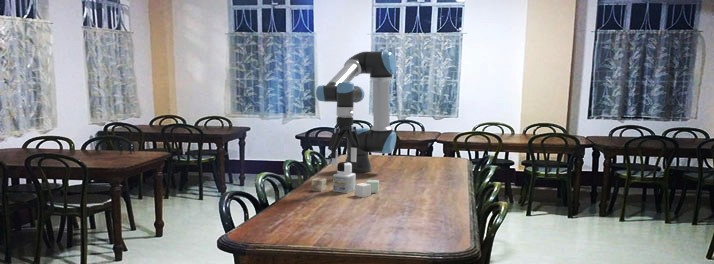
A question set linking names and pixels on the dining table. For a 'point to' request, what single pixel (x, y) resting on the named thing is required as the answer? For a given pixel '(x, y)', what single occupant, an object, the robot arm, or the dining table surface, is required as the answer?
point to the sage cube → (374, 185)
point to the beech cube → (318, 184)
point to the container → (344, 178)
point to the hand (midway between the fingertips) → (344, 163)
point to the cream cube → (362, 190)
